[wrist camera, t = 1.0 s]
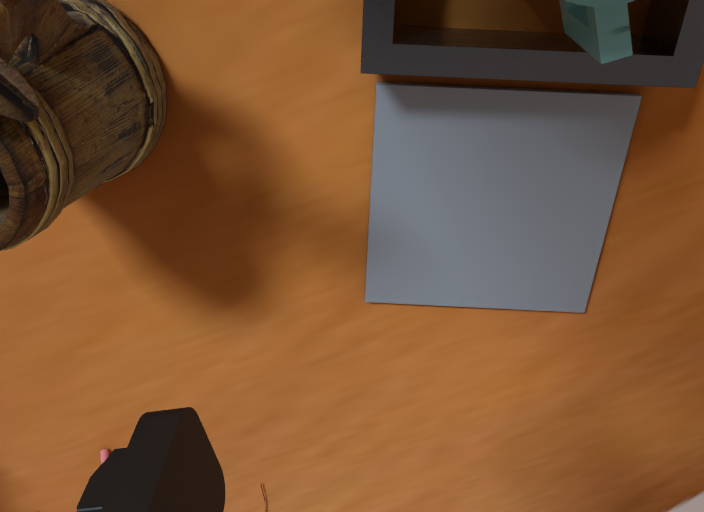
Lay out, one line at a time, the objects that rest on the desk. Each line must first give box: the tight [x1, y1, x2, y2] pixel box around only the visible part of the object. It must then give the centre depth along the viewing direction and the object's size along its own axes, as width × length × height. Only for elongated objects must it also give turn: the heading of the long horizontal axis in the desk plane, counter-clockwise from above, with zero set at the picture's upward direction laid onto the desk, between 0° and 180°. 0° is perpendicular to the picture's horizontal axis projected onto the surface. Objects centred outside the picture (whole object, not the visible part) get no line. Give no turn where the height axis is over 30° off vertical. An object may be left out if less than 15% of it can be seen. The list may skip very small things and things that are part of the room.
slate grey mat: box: [365, 82, 642, 313], centre depth 33 cm, size 12×12×1 cm
